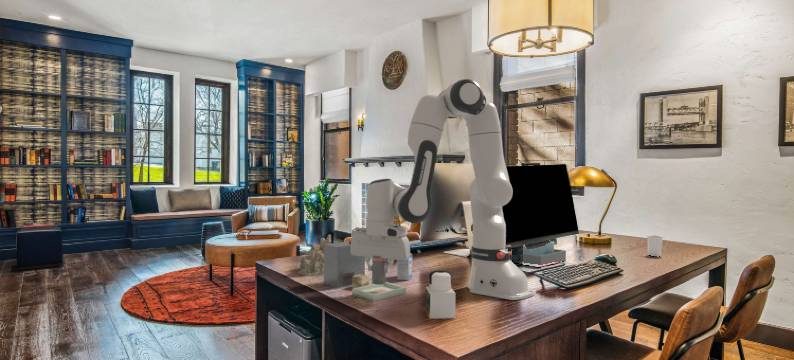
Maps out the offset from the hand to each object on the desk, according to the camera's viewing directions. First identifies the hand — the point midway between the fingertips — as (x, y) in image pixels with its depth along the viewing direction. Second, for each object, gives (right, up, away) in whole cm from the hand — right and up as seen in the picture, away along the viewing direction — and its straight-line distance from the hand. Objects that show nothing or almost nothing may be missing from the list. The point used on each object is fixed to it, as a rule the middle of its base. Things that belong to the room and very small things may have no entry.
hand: (379, 271), depth 144 cm
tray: (0, -7, 0) cm, 7 cm away
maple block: (-7, -7, +9) cm, 13 cm away
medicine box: (+9, -7, +23) cm, 26 cm away
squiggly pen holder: (+68, -8, +58) cm, 90 cm away
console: (-13, -7, +14) cm, 20 cm away
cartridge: (0, -4, 0) cm, 4 cm away
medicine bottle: (+18, -8, -20) cm, 28 cm away
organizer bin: (+69, -7, +55) cm, 89 cm away
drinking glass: (+131, -8, +73) cm, 151 cm away
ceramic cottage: (-27, -7, +34) cm, 44 cm away
